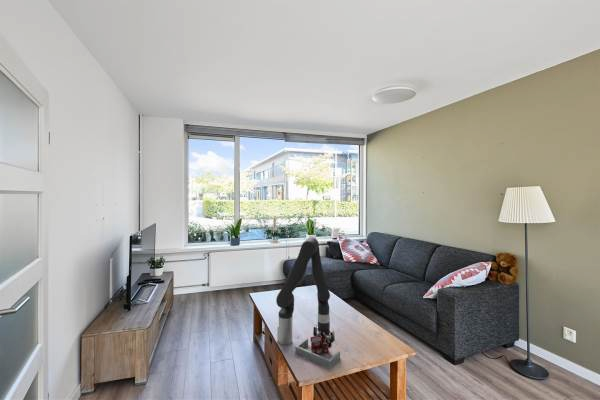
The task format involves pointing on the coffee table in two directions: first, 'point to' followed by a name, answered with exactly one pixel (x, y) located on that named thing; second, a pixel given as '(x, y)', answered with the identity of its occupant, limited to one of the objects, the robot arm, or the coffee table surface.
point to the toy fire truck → (319, 344)
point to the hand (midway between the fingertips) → (323, 345)
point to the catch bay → (315, 357)
